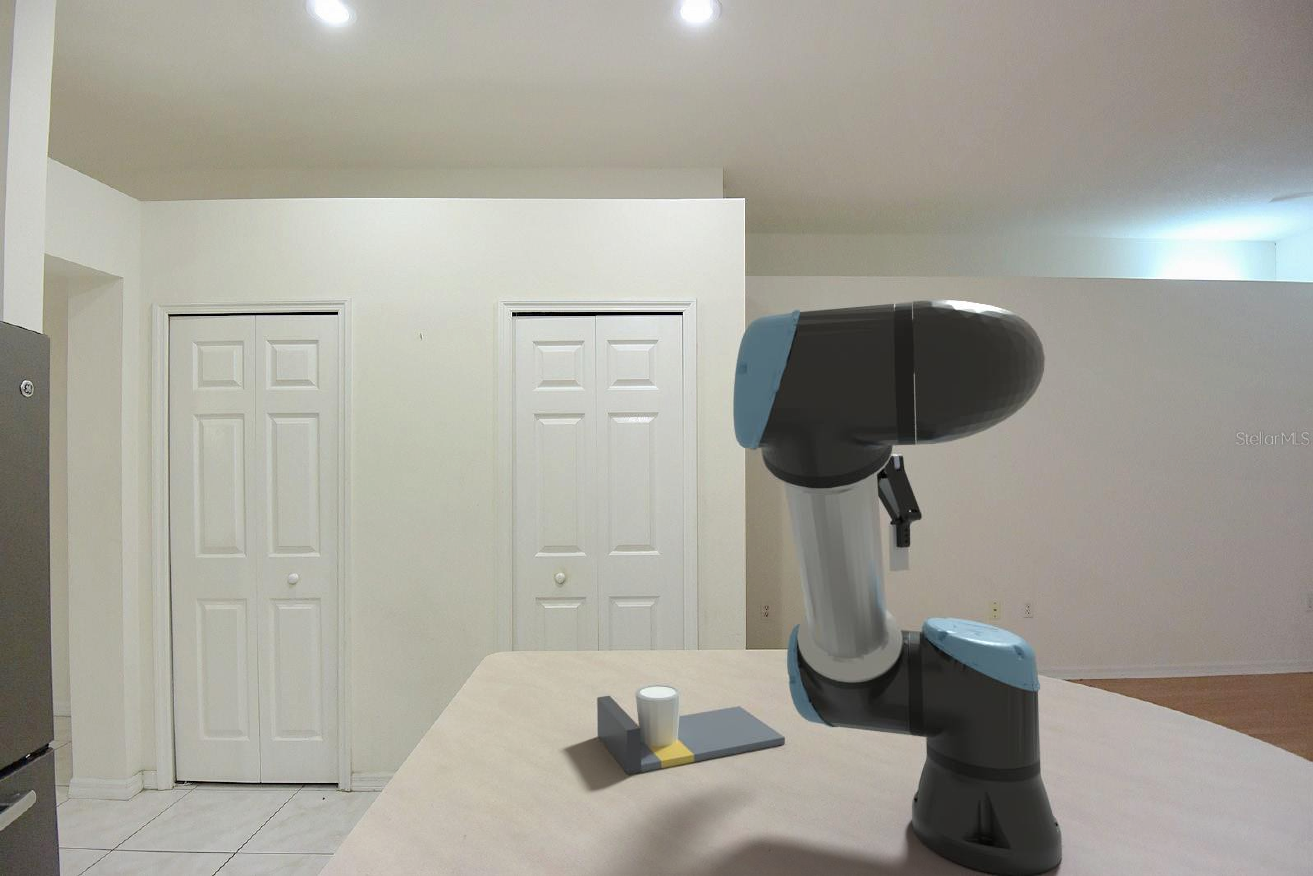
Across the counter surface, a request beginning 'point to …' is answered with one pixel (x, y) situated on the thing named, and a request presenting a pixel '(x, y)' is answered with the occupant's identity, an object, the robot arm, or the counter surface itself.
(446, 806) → the counter surface
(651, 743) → the shot glass
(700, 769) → the counter surface
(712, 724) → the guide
